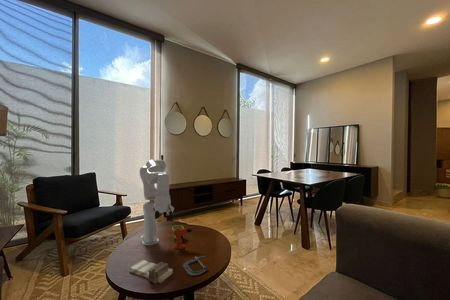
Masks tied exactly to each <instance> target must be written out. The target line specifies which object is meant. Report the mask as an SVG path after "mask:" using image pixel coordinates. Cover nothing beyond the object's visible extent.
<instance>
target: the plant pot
mask: <svg viewBox="0 0 450 300" xmlns="http://www.w3.org/2000/svg"><path fill="white" fill-rule="evenodd" d="M177 228H179V229H183V228H185V227H184V226H183V225H174V226H172V227H171V230H172V234H173V239H175V240H177V239H176V236H175V235H174V231H175V230H176V229H177Z"/></svg>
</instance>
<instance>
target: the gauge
mask: <svg viewBox="0 0 450 300" xmlns="http://www.w3.org/2000/svg"><path fill="white" fill-rule="evenodd" d="M156 264H157V265H156V266H154V267H153V268H151V269H150V270H149V278H148V282H150V283H153V284H157V283H159V282H158V277H160V276H161V275H162V274H164V273H165V272H166V271H168V268H169V263H167V262H163V261H160V262H158V263H156Z"/></svg>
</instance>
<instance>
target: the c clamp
mask: <svg viewBox="0 0 450 300" xmlns="http://www.w3.org/2000/svg"><path fill="white" fill-rule="evenodd" d="M202 258H206V255H204V256H198V257H197V256H194V258H193V259H189V260H186V261H185V262H183V263H182V267H183V269H184V270H185V272H186V274H187V275H189V276H190V277H196V276H200V275H202V274H203V273H205V272H207V271H209V268H208V266H205V265H204V264H203V263H202V262H201V260H200V259H202ZM195 263H198V264H199V265H200V267H201V268H202V269H201V270H199V271H198V270H197V271H193V269H192V268H191V267H190V266H189V265H191V264H195Z"/></svg>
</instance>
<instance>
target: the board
mask: <svg viewBox="0 0 450 300" xmlns="http://www.w3.org/2000/svg"><path fill="white" fill-rule="evenodd" d="M157 264H158V263H154V262H151V261H147V260H145V259H142V260H140V261H138V262H137V263H135V264H133V265H131V266H130V267H129V272H130V273H132V274H136V275H137V276H141V277H143V278H147V279H149V270H150V269H151V268H153V267H154V266H156V265H157ZM173 271H174V270H173V268H169V267H168V271H166V272H165V273H164V274H162V275H161V276H160V277H158V282H157V283H163V282H164V281H165V280H166V279H168V278H169V277H170V276H171V275H172V274H173Z"/></svg>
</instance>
